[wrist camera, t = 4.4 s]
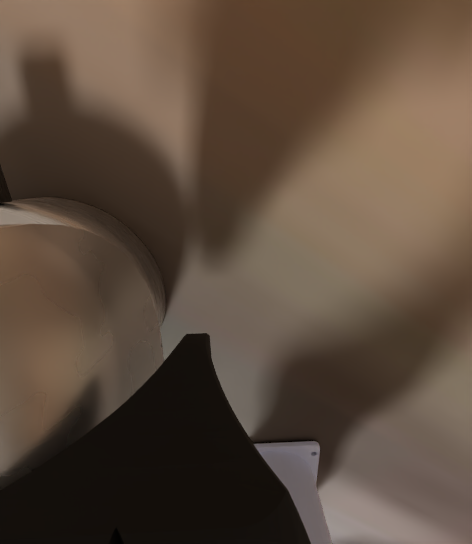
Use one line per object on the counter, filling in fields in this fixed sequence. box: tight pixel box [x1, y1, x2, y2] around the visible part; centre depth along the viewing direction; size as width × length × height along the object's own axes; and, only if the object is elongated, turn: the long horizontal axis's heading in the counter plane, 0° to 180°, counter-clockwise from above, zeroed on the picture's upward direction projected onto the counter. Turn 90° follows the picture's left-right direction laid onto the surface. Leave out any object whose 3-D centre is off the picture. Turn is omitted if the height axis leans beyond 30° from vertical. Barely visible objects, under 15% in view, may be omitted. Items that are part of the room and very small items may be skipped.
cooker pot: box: [0, 165, 166, 328], centre depth 14 cm, size 17×12×5 cm
